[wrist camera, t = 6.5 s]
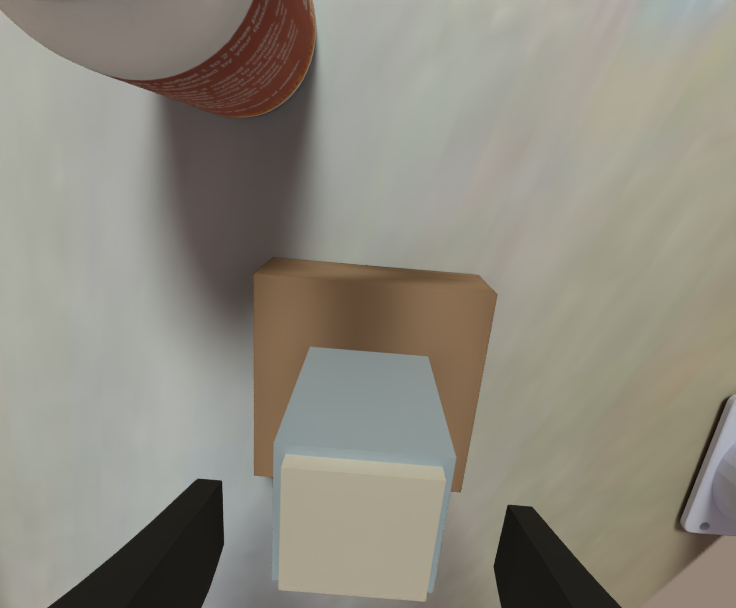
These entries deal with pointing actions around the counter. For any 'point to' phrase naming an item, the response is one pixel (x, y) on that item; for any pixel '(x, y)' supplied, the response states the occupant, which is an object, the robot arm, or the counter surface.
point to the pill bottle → (183, 46)
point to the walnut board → (368, 335)
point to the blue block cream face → (361, 477)
